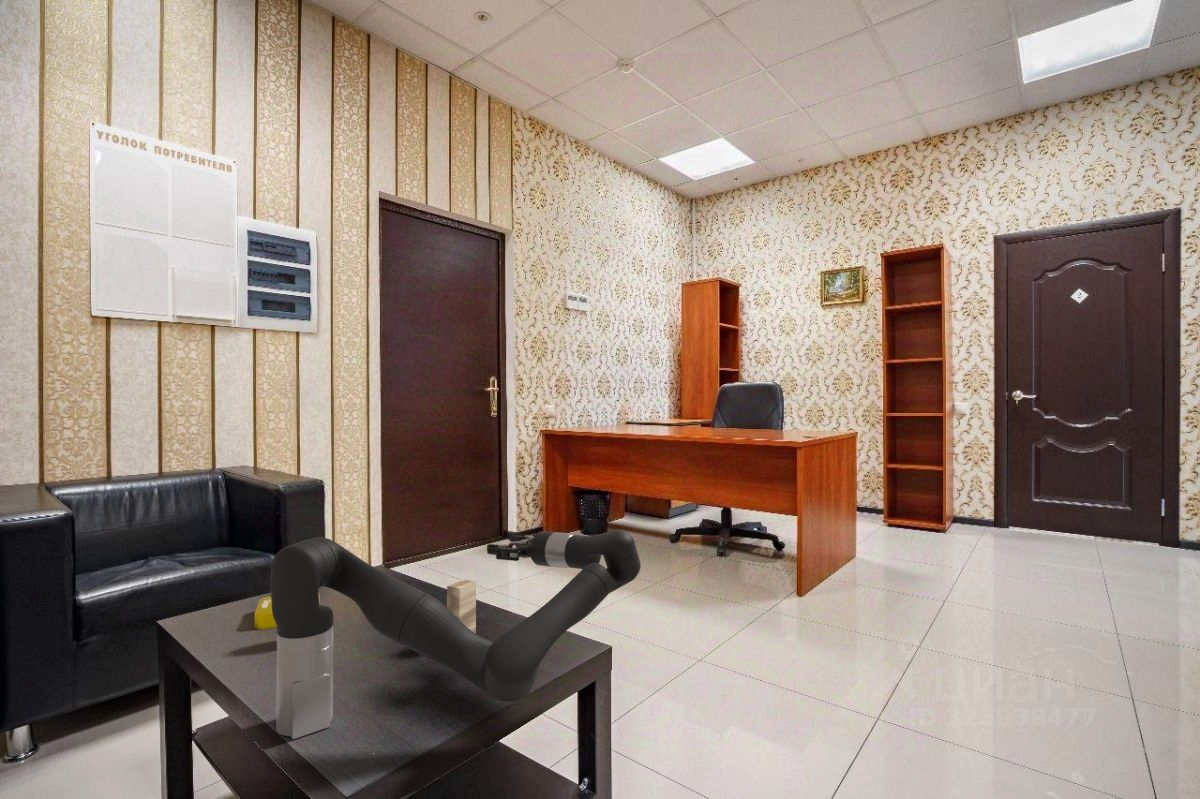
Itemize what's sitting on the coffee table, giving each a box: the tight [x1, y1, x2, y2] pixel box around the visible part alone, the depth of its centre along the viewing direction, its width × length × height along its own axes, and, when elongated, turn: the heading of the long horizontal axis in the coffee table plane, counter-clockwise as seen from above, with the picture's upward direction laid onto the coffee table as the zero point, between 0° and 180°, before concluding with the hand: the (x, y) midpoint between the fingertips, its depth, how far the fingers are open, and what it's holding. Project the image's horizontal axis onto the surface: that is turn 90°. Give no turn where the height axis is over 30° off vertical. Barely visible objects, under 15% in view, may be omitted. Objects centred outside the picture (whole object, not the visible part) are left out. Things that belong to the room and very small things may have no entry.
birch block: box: [446, 579, 477, 634], centre depth 141 cm, size 4×6×14 cm, turn 152°
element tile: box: [253, 592, 321, 630], centre depth 157 cm, size 15×15×5 cm
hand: (500, 544), depth 135 cm, fingers open, 8 cm apart
